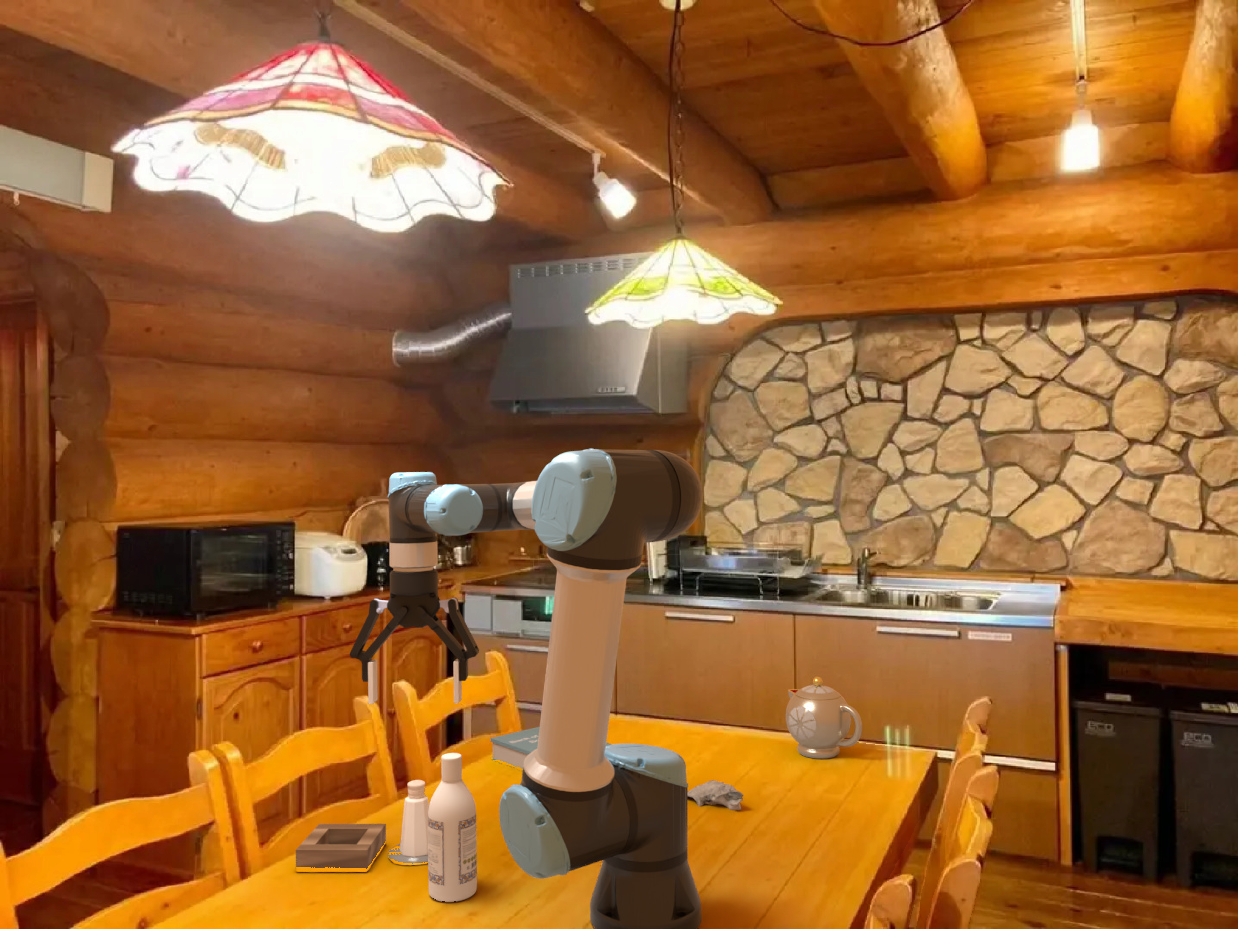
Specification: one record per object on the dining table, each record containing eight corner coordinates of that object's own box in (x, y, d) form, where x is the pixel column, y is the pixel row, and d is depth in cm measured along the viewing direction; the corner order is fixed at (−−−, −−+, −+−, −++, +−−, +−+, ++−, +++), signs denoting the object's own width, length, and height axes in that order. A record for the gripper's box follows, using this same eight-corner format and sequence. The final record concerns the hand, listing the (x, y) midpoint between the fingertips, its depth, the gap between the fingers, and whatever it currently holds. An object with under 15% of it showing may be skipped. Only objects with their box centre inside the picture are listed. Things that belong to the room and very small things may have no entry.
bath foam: (478, 881, 147) (476, 747, 147) (475, 902, 141) (474, 761, 141) (430, 884, 147) (429, 749, 147) (426, 905, 140) (425, 763, 140)
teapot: (770, 753, 210) (769, 676, 210) (806, 740, 220) (806, 667, 220) (844, 771, 198) (843, 689, 198) (879, 756, 208) (878, 678, 208)
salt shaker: (436, 844, 161) (435, 776, 161) (431, 857, 155) (430, 787, 155) (403, 845, 160) (402, 777, 160) (396, 858, 155) (396, 788, 155)
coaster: (439, 866, 153) (439, 862, 153) (381, 866, 153) (381, 862, 153) (450, 844, 162) (450, 840, 162) (395, 844, 162) (395, 840, 162)
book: (490, 762, 208) (490, 738, 208) (550, 746, 219) (550, 724, 219) (558, 787, 192) (558, 761, 192) (619, 769, 203) (619, 744, 203)
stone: (715, 819, 173) (716, 796, 173) (678, 797, 184) (679, 775, 184) (745, 813, 176) (746, 790, 176) (707, 792, 187) (708, 770, 187)
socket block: (367, 873, 151) (367, 850, 151) (295, 873, 151) (295, 850, 151) (386, 845, 162) (385, 823, 162) (319, 845, 162) (319, 823, 162)
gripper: (495, 565, 161) (496, 695, 161) (343, 567, 162) (344, 696, 162) (487, 570, 154) (489, 706, 154) (328, 571, 154) (330, 707, 154)
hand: (415, 702), depth 158 cm, fingers open, 13 cm apart
